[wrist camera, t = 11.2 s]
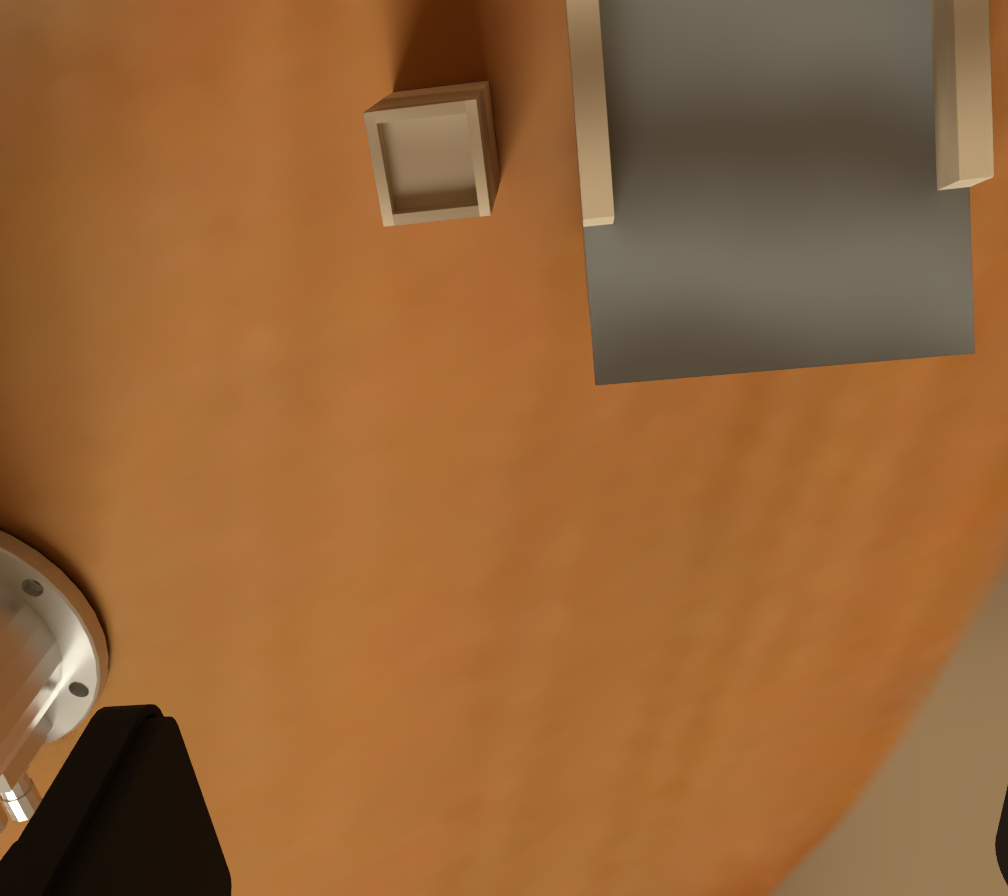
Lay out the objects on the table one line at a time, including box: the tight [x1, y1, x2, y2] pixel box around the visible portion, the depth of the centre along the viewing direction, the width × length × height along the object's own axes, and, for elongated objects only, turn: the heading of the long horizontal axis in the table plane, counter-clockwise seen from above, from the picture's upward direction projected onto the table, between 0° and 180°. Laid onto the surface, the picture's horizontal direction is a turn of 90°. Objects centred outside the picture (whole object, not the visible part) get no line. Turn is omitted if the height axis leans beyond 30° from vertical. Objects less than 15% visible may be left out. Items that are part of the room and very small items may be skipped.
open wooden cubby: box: [363, 80, 501, 227], centre depth 26 cm, size 3×3×5 cm
